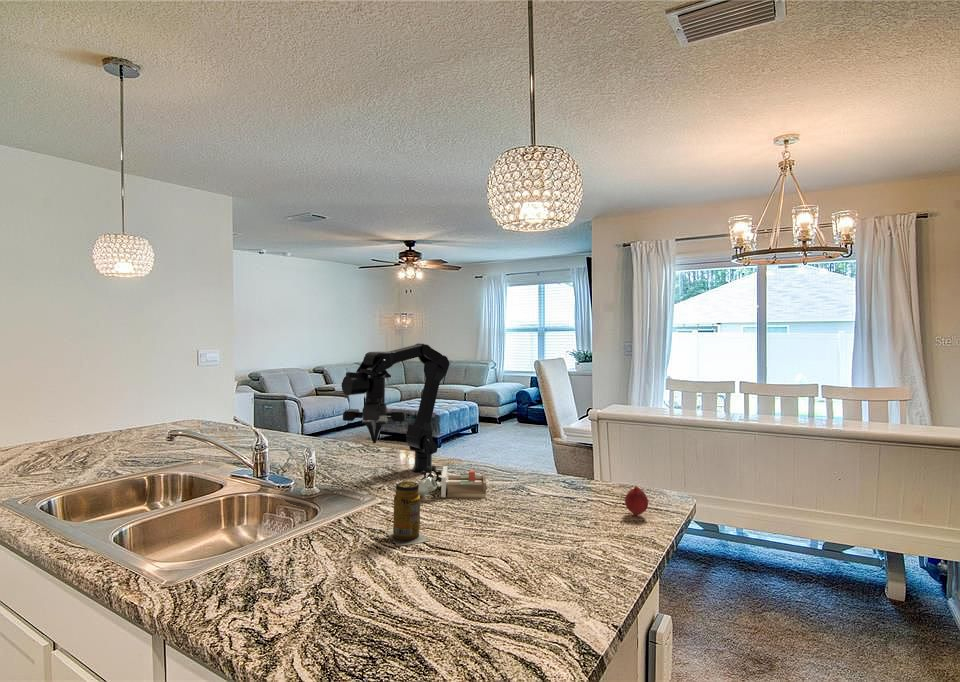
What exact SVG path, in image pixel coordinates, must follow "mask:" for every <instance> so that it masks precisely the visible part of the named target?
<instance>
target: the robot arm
mask: <svg viewBox="0 0 960 682" xmlns="http://www.w3.org/2000/svg"><path fill="white" fill-rule="evenodd" d="M415 358H418V360H419V361H420V363H421V364H423V373H424V377H425V380H424V385H423V389H422V393H421V398H420V402H419V405H418V411H417V415H416V419H415V420H414V422H413V423H409V424H408V425H407V431H406V434H405V435H404V436H406V438H405V440H406V441H405V442H406V443H407V446H409V450H410V451H413V452H414V466H413V468H412V472H415V473H417V472H420V473H421V472H422V471H426V469H425V468H426V466H429V467H430V469H432V467H433V466H434V465H432V462H433V459H432V458H433V456H432V455H434V454H437V453H438V449H439V445H438V444H437V443H436V441H434V440H433V433H434V432H433V427H432V425H431V422H432V417H433V414H434V408H435V406H436V400H437V396H438V392H439V387H440V383H441V381H442V380H443V379H444V378H445V376H446V375H447V373H448V370H449V367H450V360H449V358H448V356H446V355H443V354H442V353H440V352H439V351H437V350H435V349H434V348H432V347H431V346H430V345H429V344H427V343H416V344H413V345H409V346H405V347H401V348H397V349H393V350H388V351H369V352H367V353H366V354H365V355H364V356H363V361H362V362H361V363H360V365H359V366H358V368H357V370H356V371H355V372H353V371H346V372H345V376H344V377H343V378H342V382H341V390H342V393H343V394H344V395H345V396H356V395H364V394H365V401H364V404H363V407H362V411H360V409H358V408H348V409H345V411H343V413H342V421H343V422H344V421H345V422H353V421H354V420H356V419H362V421H361V424H362V425H365V426H366V427H367V429H368V432H369V436H370V437H371V441H372V444H377V441H378V438H379V436H380V433H381V430H382V428H383V426H384V425H385V424H387V423H388V421H389V419H391V420H392V421H393V422H401V423H402V422H405V421H406V419H407V411H406V410H405V409H393V410H392V411H389V412H387V410H388V408H387V407H388V406H387V403H386V402H385V401H386V393H385V392H386V388H385V387H386V386H385V385H386V379H388V378H389V379H390V378H391V377H392V375H391V374H390V373H389V372H388V369H389V368H392V367H393V366H394V365H396V364H397V363H401V362H404V361H409V360H413V359H415ZM428 473H430V471H429V472H428Z"/></svg>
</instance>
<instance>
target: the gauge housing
mask: <svg viewBox="0 0 960 682" xmlns="http://www.w3.org/2000/svg"><path fill="white" fill-rule="evenodd" d="M481 474H482V475H475V480H482V482H472V481H461V482H459V481H448V488H447V489H446V494H447V495H446V497H447V498H476V499H477V498H483V499H484V498H485V499H486V498H487V480H486V479H487V478H486V474H485V473H481ZM447 480H469V474H460V475H459V474H458V475H453V474H451V475H450V474H449V475H448V476H447Z"/></svg>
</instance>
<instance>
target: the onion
mask: <svg viewBox="0 0 960 682" xmlns="http://www.w3.org/2000/svg"><path fill="white" fill-rule="evenodd" d="M624 504H625V506H626V508H627V509H628V510H629V512H630V513H631V514H632V515H634V516H640V515H641V514H643V513H645V512H646V511H647V510H648V508H649V499H648V497H647V495H646V493H645V491H644V490H642V489H641V488H640V487H639V486H638V484H635V485H634V487H633V489H630V490H629V491H628V492H627V493H626V495H625V498H624Z"/></svg>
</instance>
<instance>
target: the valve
mask: <svg viewBox="0 0 960 682" xmlns="http://www.w3.org/2000/svg"><path fill="white" fill-rule="evenodd" d="M425 469H426V471H422V472H420V475H421V476H423V477H422V478H421V479H420V480H419V481H418V482H416V483H417V484H418V485H419V489H418V490H419V496H420V497H421V496H427V495H428V494H429V493H432V492H434V491H436V490H437V487H438V483H442V477H440V476H442V472H443V471H442V470H438V471H437V470H436V469H437V466H436V465H433V467H432V469H430V467H429V466H426V468H425ZM429 471H430V472H429ZM428 473H429V474H428ZM435 475H436V478H435Z"/></svg>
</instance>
